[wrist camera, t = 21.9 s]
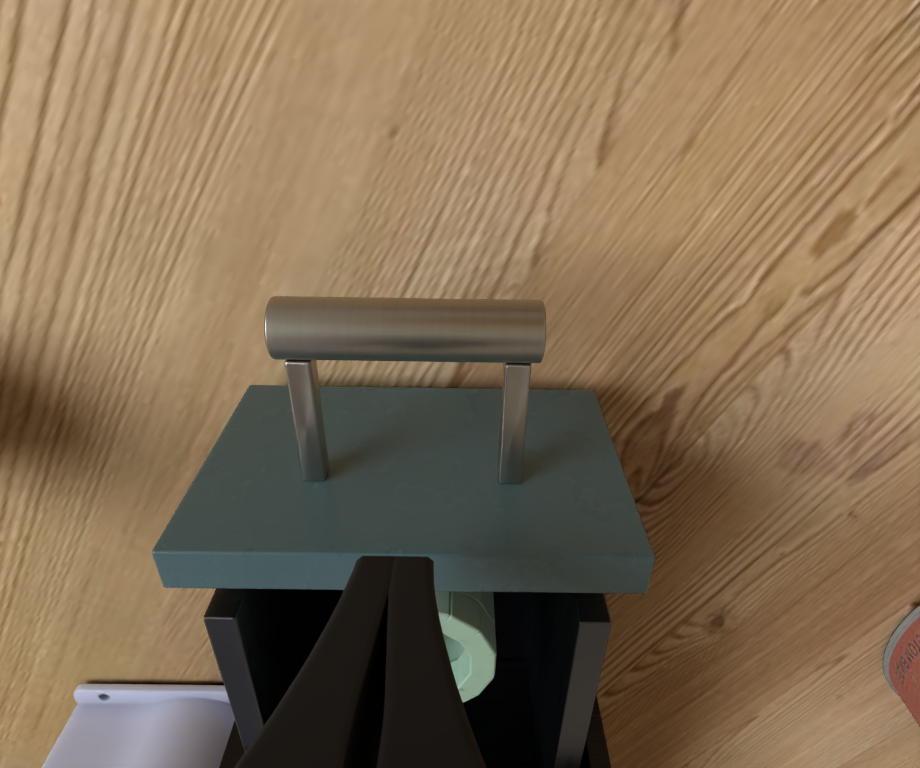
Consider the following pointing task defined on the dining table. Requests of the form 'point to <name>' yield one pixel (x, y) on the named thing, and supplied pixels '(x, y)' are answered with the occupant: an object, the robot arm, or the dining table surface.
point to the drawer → (415, 511)
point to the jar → (469, 638)
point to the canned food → (905, 662)
